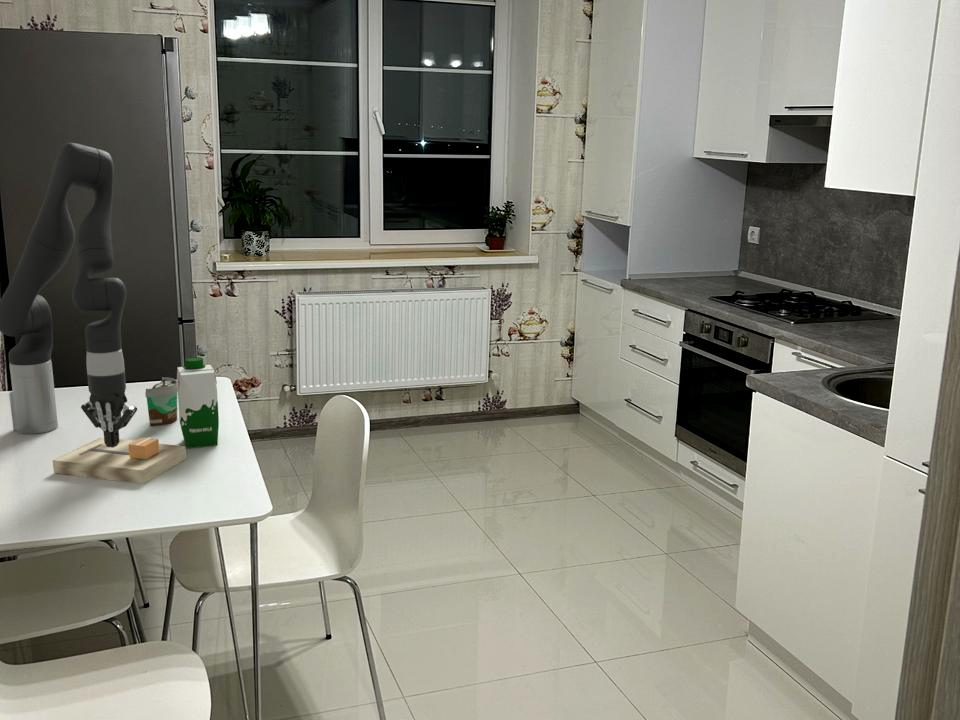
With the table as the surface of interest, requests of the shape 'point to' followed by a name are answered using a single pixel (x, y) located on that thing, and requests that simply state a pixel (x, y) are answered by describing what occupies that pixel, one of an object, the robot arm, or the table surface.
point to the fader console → (117, 462)
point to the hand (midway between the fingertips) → (112, 446)
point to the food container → (162, 402)
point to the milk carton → (198, 403)
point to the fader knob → (143, 448)
